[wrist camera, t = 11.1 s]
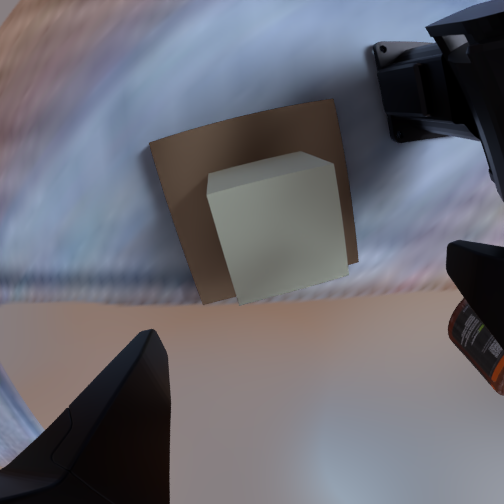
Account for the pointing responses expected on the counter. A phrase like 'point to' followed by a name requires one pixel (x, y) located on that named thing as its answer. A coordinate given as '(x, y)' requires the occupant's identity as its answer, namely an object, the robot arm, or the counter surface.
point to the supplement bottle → (477, 345)
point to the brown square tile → (234, 154)
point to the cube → (279, 224)
